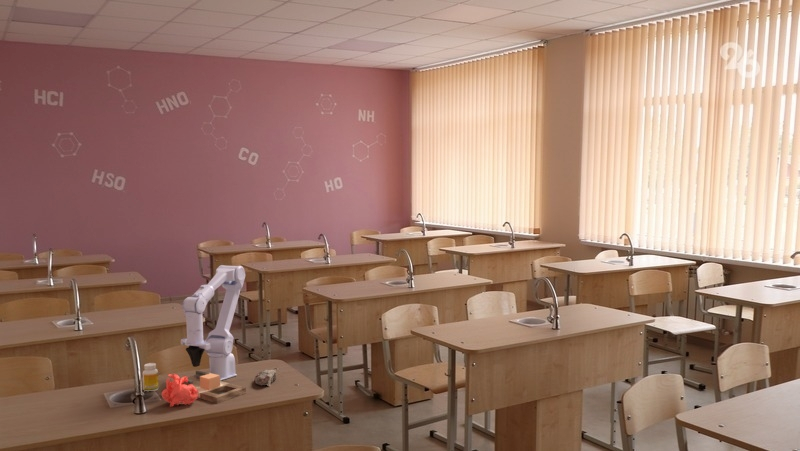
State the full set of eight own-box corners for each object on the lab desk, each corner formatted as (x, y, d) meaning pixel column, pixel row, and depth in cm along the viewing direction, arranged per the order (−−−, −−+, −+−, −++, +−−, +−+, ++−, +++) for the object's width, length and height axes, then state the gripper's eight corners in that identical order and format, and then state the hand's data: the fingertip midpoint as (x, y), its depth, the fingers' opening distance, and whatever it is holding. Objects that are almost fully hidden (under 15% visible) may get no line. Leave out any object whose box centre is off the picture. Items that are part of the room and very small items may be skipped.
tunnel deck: (196, 379, 261) (195, 368, 260) (246, 393, 244) (245, 380, 244) (167, 389, 250) (166, 377, 250) (217, 403, 234) (216, 390, 234)
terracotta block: (211, 383, 249) (211, 373, 249) (220, 386, 246) (219, 375, 246) (200, 387, 245) (199, 376, 245) (209, 389, 242) (208, 378, 242)
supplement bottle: (141, 389, 250) (140, 364, 249) (155, 386, 253) (154, 361, 252) (146, 393, 246) (145, 367, 245) (161, 390, 249) (160, 364, 248)
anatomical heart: (199, 409, 233) (199, 379, 229) (162, 414, 229) (161, 384, 225) (197, 395, 241) (196, 366, 237) (161, 399, 237) (160, 370, 233)
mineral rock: (261, 376, 265) (261, 364, 265) (281, 376, 264) (281, 365, 264) (248, 388, 251) (247, 376, 250) (268, 388, 250) (268, 377, 249)
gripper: (173, 329, 250) (174, 365, 251) (198, 334, 241) (200, 371, 242) (189, 325, 255) (190, 361, 256) (214, 330, 247) (215, 367, 248)
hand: (196, 366), depth 250 cm, fingers closed
